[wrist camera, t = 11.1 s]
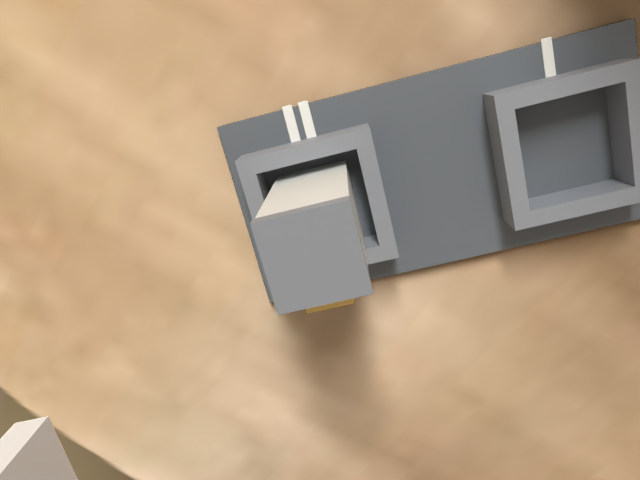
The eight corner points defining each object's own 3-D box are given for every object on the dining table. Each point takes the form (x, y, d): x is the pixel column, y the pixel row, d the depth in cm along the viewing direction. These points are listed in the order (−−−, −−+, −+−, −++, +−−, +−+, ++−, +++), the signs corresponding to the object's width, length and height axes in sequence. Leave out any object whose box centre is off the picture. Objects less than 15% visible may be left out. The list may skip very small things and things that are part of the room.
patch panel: (217, 123, 35) (206, 128, 32) (629, 15, 32) (658, 10, 29) (271, 299, 38) (265, 318, 35) (646, 214, 36) (674, 227, 33)
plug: (276, 176, 35) (250, 223, 24) (346, 158, 34) (350, 199, 24) (298, 256, 36) (283, 333, 26) (366, 240, 36) (377, 312, 25)
